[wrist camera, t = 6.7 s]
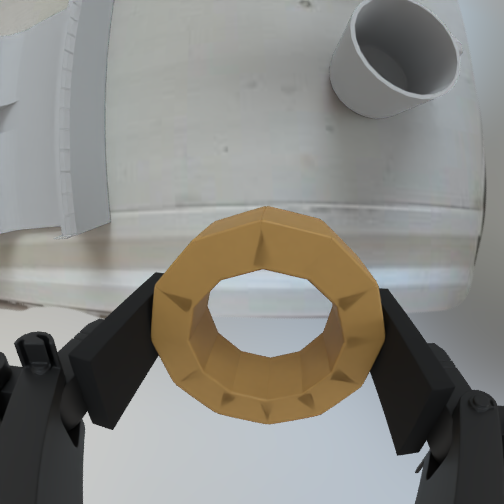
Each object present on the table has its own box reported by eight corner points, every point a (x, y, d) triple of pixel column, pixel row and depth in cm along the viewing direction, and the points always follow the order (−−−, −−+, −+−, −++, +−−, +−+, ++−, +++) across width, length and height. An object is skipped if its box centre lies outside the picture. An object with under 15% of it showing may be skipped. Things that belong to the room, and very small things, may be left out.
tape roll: (399, 301, 12) (424, 336, 9) (271, 403, 15) (268, 445, 12) (264, 165, 11) (258, 165, 8) (144, 303, 14) (114, 335, 11)
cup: (313, 52, 21) (328, 1, 12) (412, 33, 19) (456, -8, 10) (348, 129, 22) (383, 111, 14) (444, 103, 20) (503, 86, 12)
